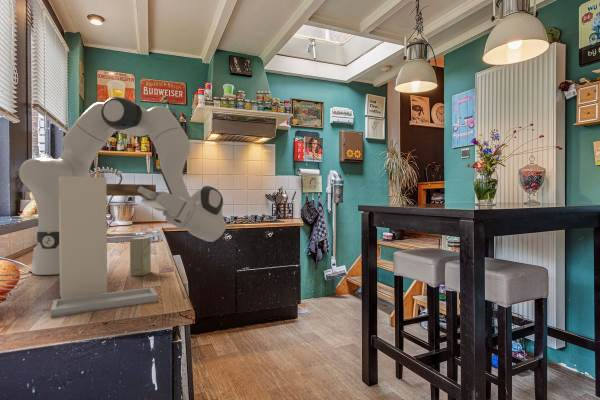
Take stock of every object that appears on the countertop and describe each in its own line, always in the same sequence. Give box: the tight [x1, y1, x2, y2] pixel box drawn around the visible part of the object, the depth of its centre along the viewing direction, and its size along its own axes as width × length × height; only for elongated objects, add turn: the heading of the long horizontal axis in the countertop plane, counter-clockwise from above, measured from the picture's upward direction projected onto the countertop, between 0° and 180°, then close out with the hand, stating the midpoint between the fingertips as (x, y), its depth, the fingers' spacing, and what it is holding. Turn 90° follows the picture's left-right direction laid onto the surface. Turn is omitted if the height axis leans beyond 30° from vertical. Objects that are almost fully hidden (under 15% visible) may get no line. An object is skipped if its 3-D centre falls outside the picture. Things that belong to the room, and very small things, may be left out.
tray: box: [50, 286, 159, 318], centre depth 85 cm, size 22×9×2 cm, turn 122°
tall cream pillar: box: [59, 176, 108, 299], centre depth 93 cm, size 10×9×31 cm
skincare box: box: [129, 236, 152, 277], centre depth 118 cm, size 6×4×12 cm
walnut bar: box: [106, 183, 157, 197], centre depth 99 cm, size 18×3×3 cm, turn 127°
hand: (136, 188), depth 101 cm, fingers closed on walnut bar, 3 cm apart
